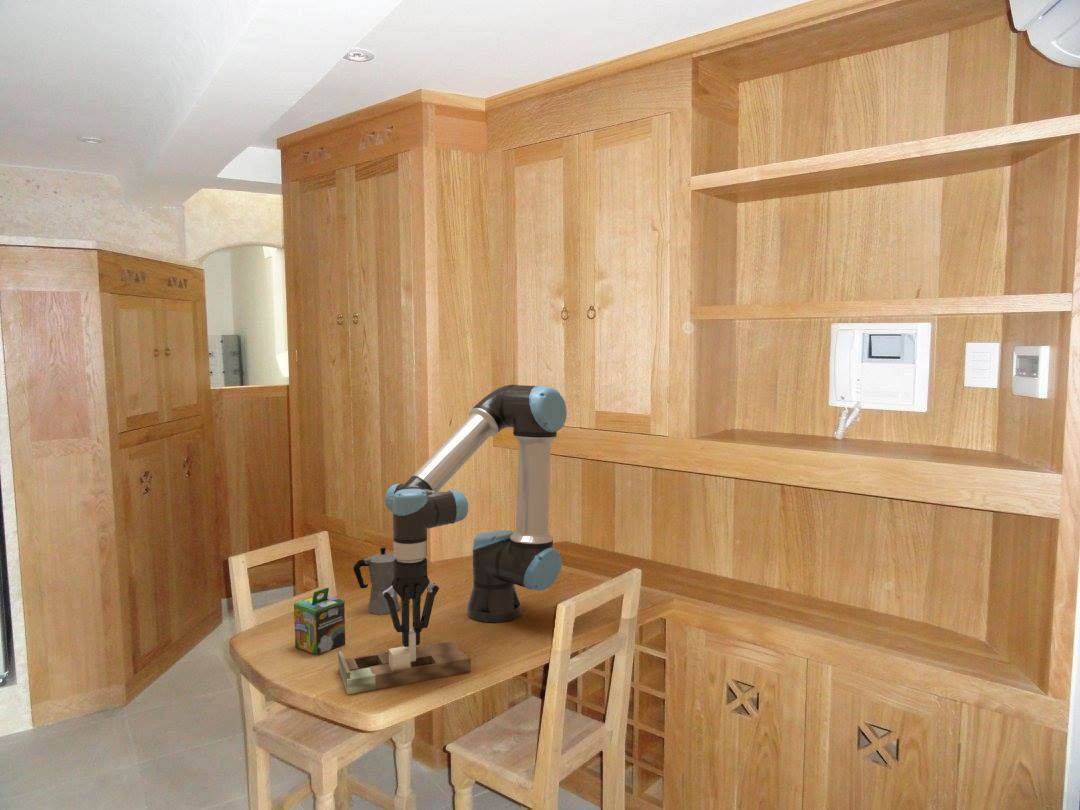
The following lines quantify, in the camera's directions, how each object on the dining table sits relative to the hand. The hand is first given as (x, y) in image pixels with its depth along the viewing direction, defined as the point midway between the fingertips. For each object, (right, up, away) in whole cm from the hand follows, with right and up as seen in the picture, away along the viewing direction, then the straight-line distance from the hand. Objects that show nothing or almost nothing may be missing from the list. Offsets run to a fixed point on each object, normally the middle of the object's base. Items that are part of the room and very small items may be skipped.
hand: (411, 658), depth 171 cm
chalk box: (-26, -3, +17) cm, 31 cm away
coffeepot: (-16, -1, +42) cm, 45 cm away
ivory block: (-2, -2, -1) cm, 3 cm away
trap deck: (-2, -4, +3) cm, 5 cm away
